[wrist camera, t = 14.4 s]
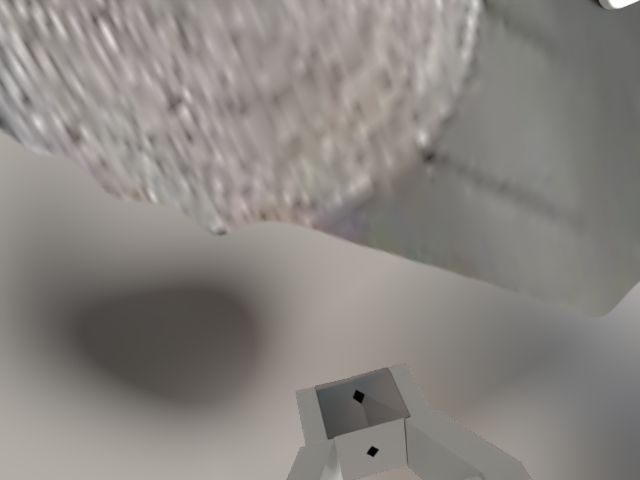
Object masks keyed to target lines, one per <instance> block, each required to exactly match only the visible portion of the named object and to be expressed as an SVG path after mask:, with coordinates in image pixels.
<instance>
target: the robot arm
mask: <svg viewBox="0 0 640 480" xmlns="http://www.w3.org/2000/svg"><path fill="white" fill-rule="evenodd" d="M637 1H639V0H599V2H600V4H601V5H602V6H603V7H604V8H605V9H619V8H622V7H625V6H627V5H629V4H632V3H634V2H637ZM296 399H297V404H298V409H299V414H300V419H301V424H302V429H303V434H304V438H305V444H306V446H303V447H300V449H299V452H298V454H297V456H296V459H295V461H294V464H293V466H292V468H291V471H290V473H289V475H288V478H287V480H357V479H360V478H364V477H366V476H370V475H373V474H375V473H376V474H377V473H380V472H384V471H388V470H392V469H396V468H400V467H404V466H408V467H409V468H410V469H411V470H412V471H413V472H414V473H415V474H417V475H418V476H419V477H420V478H421V479H423V480H532V479H531V477H530V475H529V474H528V472H527V471H526V469H525V467H524V466H523V464H522V463H521V462H520V461H519V460H517V459H515V458H514V457H512V456H511V455H509V454H507V453H506V452H504V451H503V450H501V449H499V448H498V447H496V446H494V445H493V444H491V443H490V442H488V441H486V440H485V439H483V438H482V437H480V436H478V435H477V434H475V433H474V432H472V431H470V430H469V429H467V428H466V427H464V426H462V425H461V424H459V423H458V422H456V421H454V420H453V419H451V418H449V417H448V416H446V415H445V414H443V413H441V412H440V411H438V410H435V411H431V409H430V407H429V405H428V403H427V401H426V399H425V397H424V395H423V393H422V391H421V389H420V387H419V385H418V383H417V381H416V380H415V377H414V375H413V373H412V371H411V370H410V368H409V366H408V364H406V363H402V364H399V365H394V366H391V367H387V368H382V369H379V370H375V371H371V372H368V373H364V374H361V375H357V376H353V377H351V378H347V379H343V380H339V381H334V382H330V383H326V384H322V385H317V386H315V387H310V388H306V389H302V390H298V391H296Z"/></svg>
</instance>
